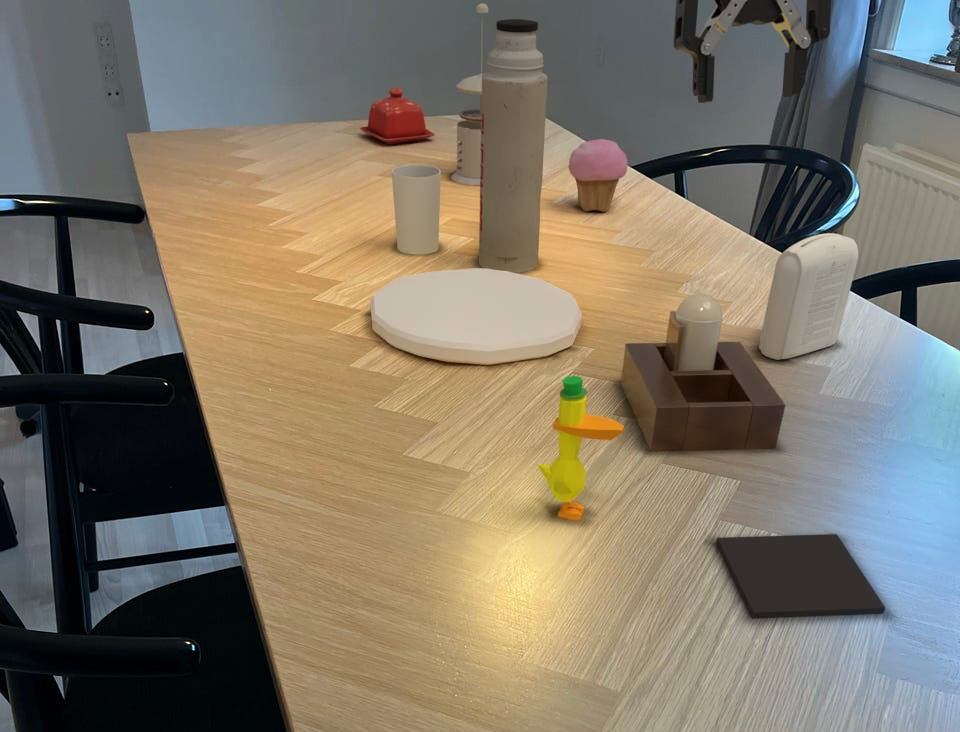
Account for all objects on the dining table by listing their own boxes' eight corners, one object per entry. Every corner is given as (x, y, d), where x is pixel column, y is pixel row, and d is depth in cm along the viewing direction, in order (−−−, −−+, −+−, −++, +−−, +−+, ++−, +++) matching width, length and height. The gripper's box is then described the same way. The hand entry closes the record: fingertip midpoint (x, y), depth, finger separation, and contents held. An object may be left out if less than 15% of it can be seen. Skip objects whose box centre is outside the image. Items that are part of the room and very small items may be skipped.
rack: (732, 382, 104) (739, 341, 101) (775, 449, 92) (785, 404, 89) (620, 384, 103) (625, 343, 100) (650, 452, 91) (656, 407, 89)
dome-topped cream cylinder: (701, 389, 102) (718, 286, 95) (712, 409, 99) (731, 303, 92) (658, 390, 102) (672, 287, 95) (668, 409, 98) (683, 303, 92)
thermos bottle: (471, 269, 130) (473, 22, 112) (488, 251, 136) (494, 14, 118) (528, 276, 128) (540, 26, 111) (544, 258, 134) (558, 18, 116)
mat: (835, 539, 80) (836, 533, 80) (883, 614, 72) (885, 607, 72) (715, 543, 79) (717, 537, 79) (751, 618, 72) (753, 612, 71)
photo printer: (812, 333, 115) (838, 223, 107) (841, 345, 112) (870, 233, 104) (751, 352, 110) (773, 238, 102) (780, 365, 107) (806, 249, 100)
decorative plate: (618, 316, 107) (397, 339, 101) (614, 352, 109) (398, 377, 103) (539, 246, 125) (348, 262, 119) (537, 279, 128) (350, 296, 122)
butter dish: (438, 141, 186) (437, 90, 181) (384, 148, 181) (382, 96, 176) (409, 129, 194) (408, 80, 188) (357, 135, 189) (354, 85, 183)
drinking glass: (435, 239, 140) (434, 163, 134) (446, 253, 135) (446, 176, 129) (390, 242, 138) (386, 165, 132) (399, 257, 133) (396, 178, 127)
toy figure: (615, 509, 83) (631, 376, 76) (609, 531, 81) (625, 395, 73) (537, 498, 84) (545, 366, 77) (529, 520, 82) (536, 385, 74)
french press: (441, 181, 164) (440, 4, 148) (468, 165, 172) (470, -3, 157) (495, 188, 161) (500, 9, 146) (520, 172, 170) (527, 0, 154)
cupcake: (619, 202, 156) (627, 133, 150) (625, 218, 149) (632, 147, 143) (564, 201, 156) (568, 132, 150) (566, 217, 149) (571, 145, 143)
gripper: (696, -118, 81) (690, 103, 89) (856, -126, 83) (837, 92, 91) (666, -98, 88) (663, 106, 95) (815, -106, 90) (801, 96, 97)
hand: (748, 99), depth 93 cm, fingers open, 8 cm apart
